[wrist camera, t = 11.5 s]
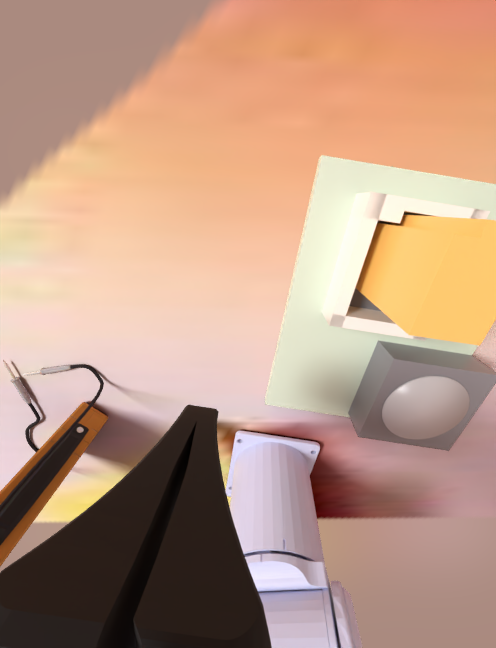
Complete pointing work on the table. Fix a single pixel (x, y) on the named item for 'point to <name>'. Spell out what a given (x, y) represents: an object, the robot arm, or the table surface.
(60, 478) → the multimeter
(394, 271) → the plug
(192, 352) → the table surface
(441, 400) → the grey dome button
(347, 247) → the frame
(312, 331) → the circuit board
